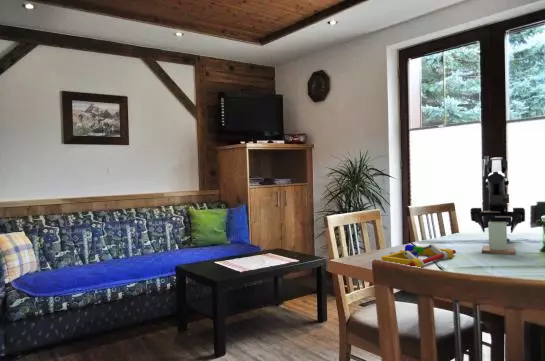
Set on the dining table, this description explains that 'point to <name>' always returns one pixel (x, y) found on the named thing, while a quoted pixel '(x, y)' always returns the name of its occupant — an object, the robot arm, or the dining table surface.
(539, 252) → the dining table surface
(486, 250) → the peg stand
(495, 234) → the sleeve
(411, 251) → the mechanical clamp
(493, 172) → the robot arm
